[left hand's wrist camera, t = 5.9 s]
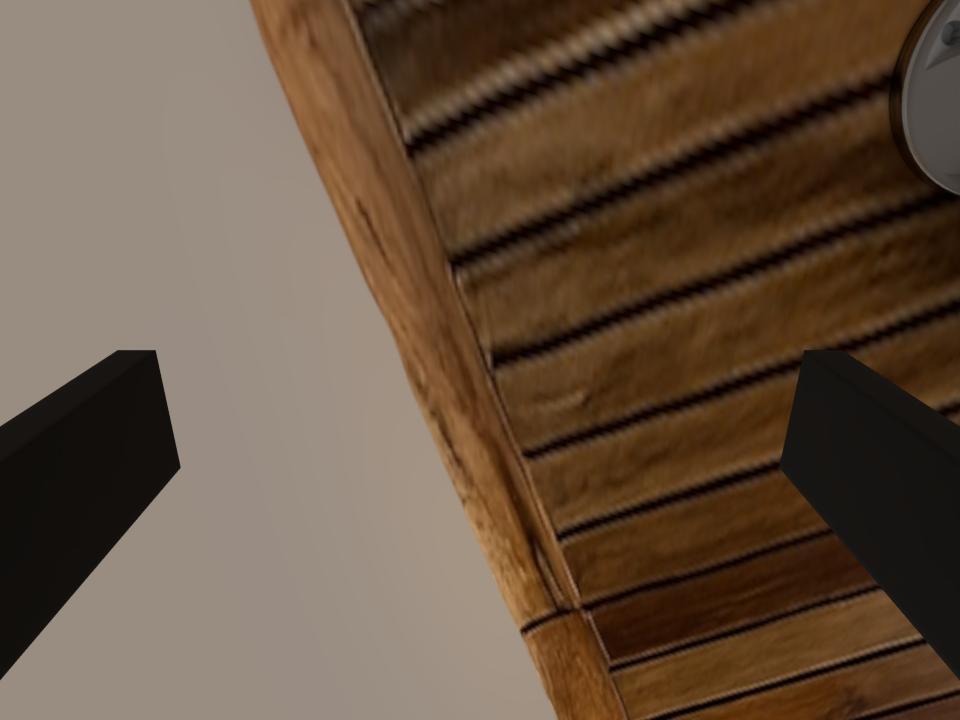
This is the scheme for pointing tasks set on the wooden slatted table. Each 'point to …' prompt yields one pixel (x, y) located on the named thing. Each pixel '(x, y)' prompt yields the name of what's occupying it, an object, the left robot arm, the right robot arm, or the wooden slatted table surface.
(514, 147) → the wooden slatted table surface
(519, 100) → the wooden slatted table surface
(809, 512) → the wooden slatted table surface
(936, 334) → the wooden slatted table surface
